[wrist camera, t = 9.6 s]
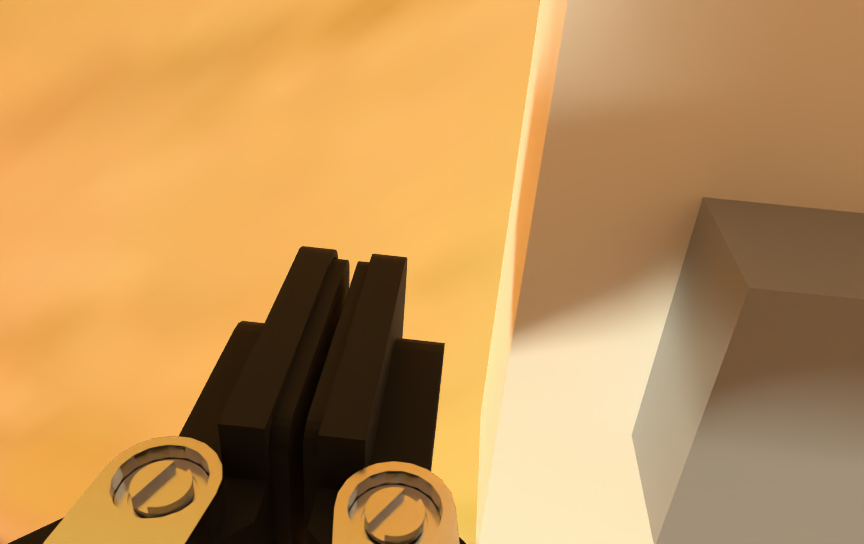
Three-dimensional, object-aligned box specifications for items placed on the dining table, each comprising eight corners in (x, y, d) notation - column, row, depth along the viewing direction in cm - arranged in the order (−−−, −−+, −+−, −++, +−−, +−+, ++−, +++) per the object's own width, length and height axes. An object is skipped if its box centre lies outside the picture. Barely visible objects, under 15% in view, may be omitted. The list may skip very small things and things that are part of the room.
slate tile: (703, 197, 11) (749, 288, 9) (1040, 230, 11) (1168, 331, 9) (631, 435, 14) (654, 548, 12) (901, 464, 14) (973, 584, 12)
